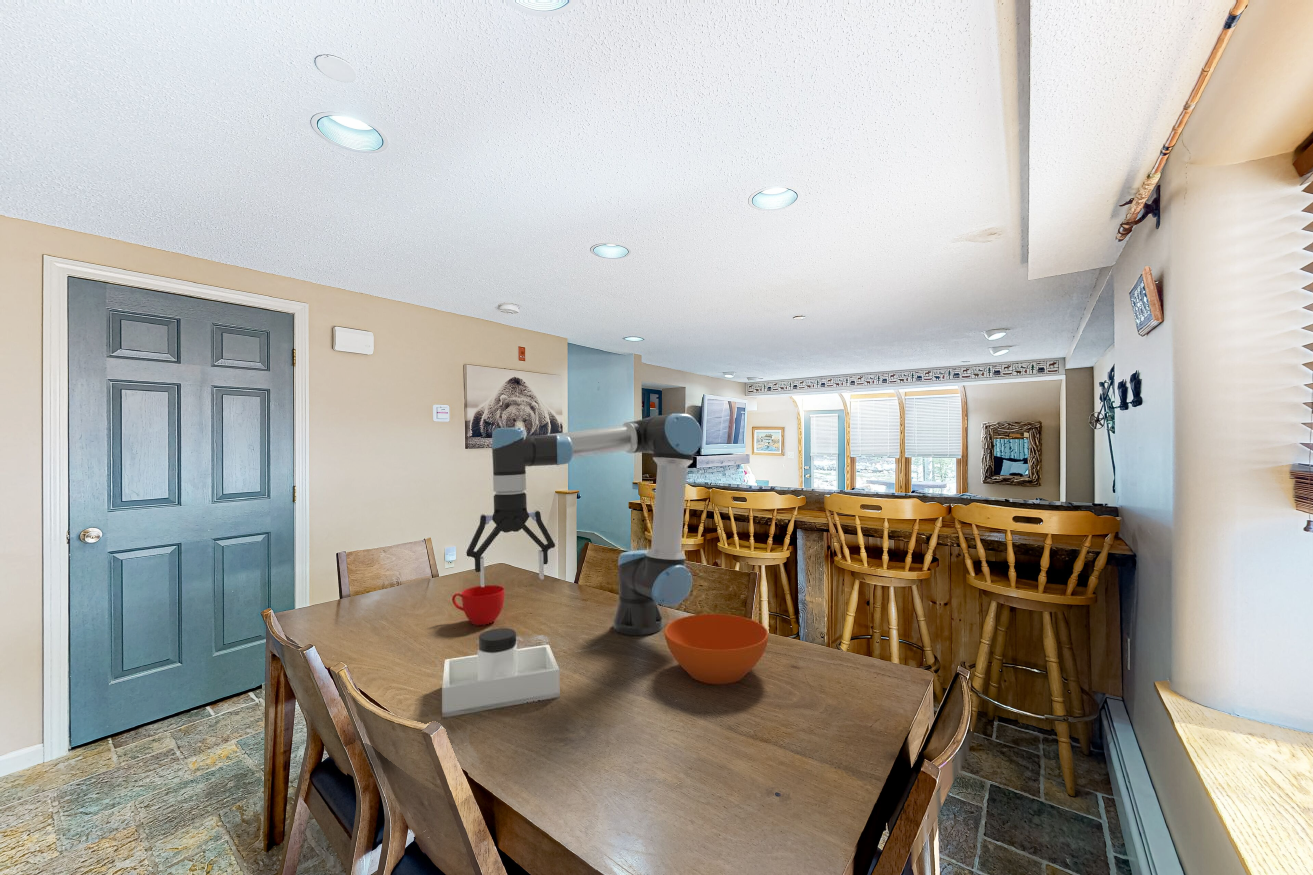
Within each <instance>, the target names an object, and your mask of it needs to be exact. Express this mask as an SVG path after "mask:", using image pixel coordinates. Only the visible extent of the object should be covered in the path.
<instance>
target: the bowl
mask: <svg viewBox="0 0 1313 875" xmlns="http://www.w3.org/2000/svg"><path fill="white" fill-rule="evenodd" d="M664 638H665V642H666V645H667V647H668V650H669V652H670V653H671V655H672V657H673V658H674V660H676V661H677V663H678V664H679V665H680V666H681V668H683V669H684V670H685V672H686V673H688V674H689V676H690V677H692V678H693V679H695V680H696V681H699V682H702V683H704V684H705V683H706V684H711V685H727V684H732V683H736V682H738V681H740V680H742V679H743V678H744V677H745V676H746V675H747V674H748V673H749V672H750V671H751V670H752V669H753V668H754V667H756V665H757V664H758V663H759V661H760V660H761V659H762V657H763V655H764V653H765V651H766V649H767V647H768V646H767V645H768V642H769V632H768V630H767V627H766V626H764V625H763V624H762V623H761V622H758V621H756V620H753V619H751V618H748V617H744V616H740V615H739V616H738V615H733V614H726V613H700V614H692V615H687V616H683V617H679V618H677V619H675V620H673V621H671V622H669V623H668V624H667V626H665V628H664Z"/></svg>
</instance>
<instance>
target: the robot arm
mask: <svg viewBox="0 0 1313 875" xmlns="http://www.w3.org/2000/svg"><path fill="white" fill-rule="evenodd" d="M702 442H703V431H702V427H701V425H700V423H699V422H697V420H696V418H694V417H693V416H692V415H690V414H687V413H675V412H674V413H670V414H663V415H654V416H650V417H646V418H643V419H638V420H632V421H626V422H624V423H622V424H621V426H612V427H610V426H609V427H604V428H603V427H602V428H594V429H593V428H592V429H585V430H575V431H566V432H558V433H549V434H542V435H526V433H525V429H524V428H523V427H498V428H495V429H493V432H492V437H491V452H492V453H491V454H492V456H491V458H492V484H493V485H492V487H493V490H492V491H493V492H494V493H495V494H494V495H493V514H490V515H488V514H480V517H479V525H478V527H477V528H476V531H475V533H474V535H473V536H472V539H471V541H470V543H469V546H468V547H467V550H466V556H467V557H468V558H470V557H471V558H472V559H474V570H475V571H474V572H475V573H479V577H480V578H479V579H480V581H479V582H480V586H481V587H485V562H484V561H485V559H484V558H485V557H484V556H482V555H483V554H484V553H485V552H486V550H487V549H488V548H489V546H490V545H491V544H493V542H494V541H495V539H496V537H497V536H499V534H500V533H501V532H502V533H510V532H514V533H516V532H520V531H521V530H522V531H524V532H525V534H526V535H527V536H529V537H530V538H531V540H532V541H533V542H534V543H535V544H536V545H537V546H538V547H539V549H538V552H537V553H538V578H539V579H540V580H544V579H545V571H544V570H545V567H544V566H545V565H548V563H549V560H548V559H549V558H548V557H549V556H548V553H549V550H551V549H554V548H555V547H556V544H555V542H554V540H553V538H552V536H551V535H550V533H549V531H548V529H547V528H546V525H545V524H544V521H543V520H542V515H541V514H542V513H541V512H540V511H539V510H538V509H536V510H534V511H529V512H528V508H527V506H528V503H527V502H528V501H527V493H526V492H525V491H526V490H527V478H526V477H527V475H526V474H527V473H526V468H527V467H540V466H544V467H545V466H560V465H561V466H562V465H567V464H569V463H570V462H572V459H579V458H583V457H591V456H597V455H598V456H599V455H606V454H613V453H620V452H626V453H627V454H636V453H644V454H646V453H647V454H653V455H652V460H653V461H654V462H655V463H656V465H657V470H656V471H657V472H656V481H655V482H656V483H655V492H654V493H655V494H654V506H653V507H654V508H653V517H652V518H653V520H652V530H651V531H652V532H651V543H650V544H651V545H650V549H639V550H630V551H626V552H621V553H620V554H619V556H618V562H617V567H618V568H617V569H618V570H617V571H618V575H617V576H618V604H617V607H616V610H615V614H614V616H613V624H612V625H613V626H612V627H613V629H614V631H615V632H617V633H620V634H624V635H629V636H643V635H650V634H654V633H657V632H659V631H660V630H662V629H663V627H664V620H663V616H662V615H663V614H662V613H661V610H660V607H659V605H661V606H665V607H675V606H677V605H679V604H681V603H683V601H684V600H685V599H686V598H687V597H688V595H689V594H690V593H691V592H690V591H691V589H692V586H693V577H692V573H691V572H690V571H689V569H688V568H687V567H686V558H687V557H686V555H685V554H684V553H683V551H682V539H683V538H682V537H683V526H684V513H685V512H684V511H685V501H686V499H685V498H686V487H687V486H686V484H687V473H688V472H687V471H688V467H689V466H690V465H691V464H692V463H693V461H694V454H695V453H696V452H697V451H698V450H699V448H701V446H702V444H703V443H702ZM529 518H531V519H532V521H535V523H536V525H537V526H538V528H539V530H540V532H541V534H542V535H543V538H544V539H545V541H546V543H544V542H543V541H542V540H541V539H540V538H539V537H538V536H537V535H536V534H535V533H534V532H533V531H532V530H531V529H530V528H529V527H528V525H527V524H526V523H527V521H528V520H529ZM491 521H492V522H493V523H494V524H495V526H494V528H493V529H492V531H491V532H490V533H489V535H488V536H487V537H486V538H485V540H484V541H483V542H482V544H480V546H479V547H478V548H477V549H476V547H477V545H478V543H479V542H480V539H481V537H482V534H483V532H484V530H485V528H486V525H489V524H490V522H491ZM540 549H541V550H540Z"/></svg>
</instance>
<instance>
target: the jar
mask: <svg viewBox="0 0 1313 875" xmlns="http://www.w3.org/2000/svg"><path fill="white" fill-rule="evenodd" d="M517 649H518V641H517V632H516V631H515V629H512V628H506V627H504V628H503V627H502V628H500V627H499V628H494V629H489V630H486V631H485V630H484V632H481V633H480V634H479V635H478V649H477V655H478V681H479V680H485V679H491V678H498V677H504V676H510V675H516V674H517Z"/></svg>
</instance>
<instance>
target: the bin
mask: <svg viewBox="0 0 1313 875" xmlns="http://www.w3.org/2000/svg"><path fill="white" fill-rule="evenodd" d="M443 666H444V668H443V677H442V685H441V686H442V687H441V704H442V705H441V714H442V715H441V716H442V719H444V717H445V718H449V717H455V716H461V715H462V716H463V715H466V714H472V713H477V712H482V711H484V712H485V711H488V710H489V711H490V710H493V709H495V710H496V709H500V708H506V707H511V706H515V705H521V704H528V703H533V701H534V702H538V700H540V701H543V700H544V701H545V700H551V699H556V698H560V697H561V694H560V692H561V690H560V689H561V687H560V668H559V665H558V663H557V661H556V659H555V656H554V654H553V651H552V649H551V647H550V645H549V644H544V645H537V646H529V647H523V648H517V674H516V675H510V676H504V677H498V678H491V679H485V680H479V681H478V654H474V655H468V656H461V657H454V658H447V659H444V665H443ZM527 702H528V703H527Z"/></svg>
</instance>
